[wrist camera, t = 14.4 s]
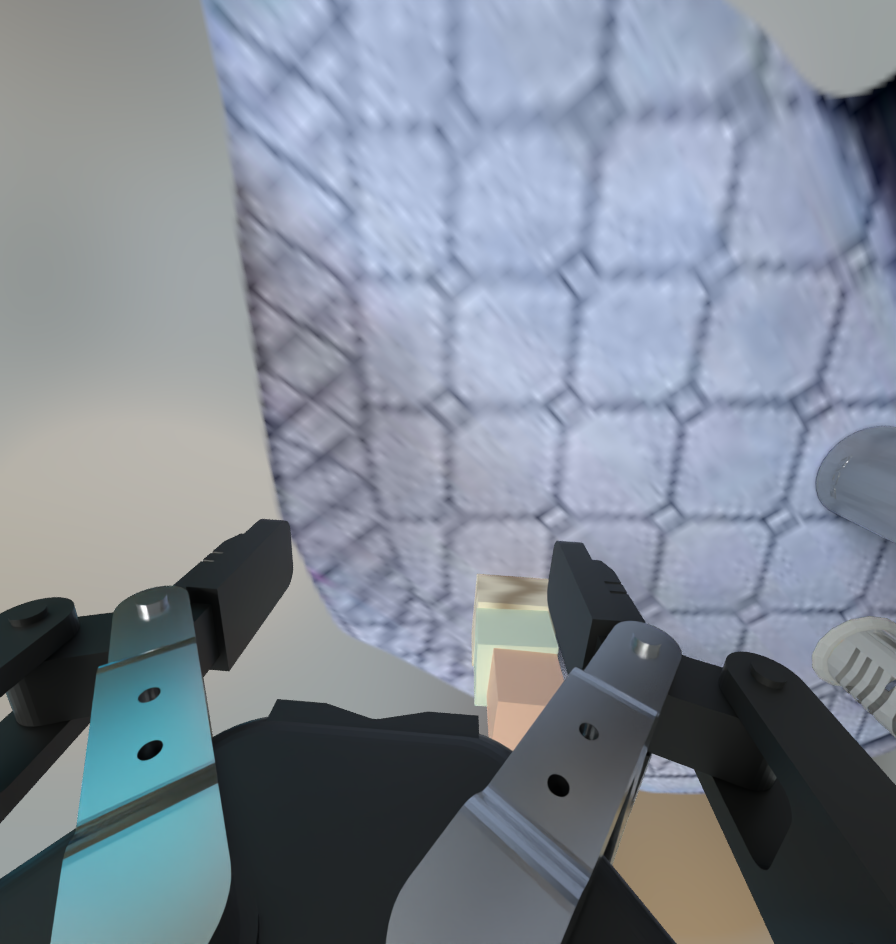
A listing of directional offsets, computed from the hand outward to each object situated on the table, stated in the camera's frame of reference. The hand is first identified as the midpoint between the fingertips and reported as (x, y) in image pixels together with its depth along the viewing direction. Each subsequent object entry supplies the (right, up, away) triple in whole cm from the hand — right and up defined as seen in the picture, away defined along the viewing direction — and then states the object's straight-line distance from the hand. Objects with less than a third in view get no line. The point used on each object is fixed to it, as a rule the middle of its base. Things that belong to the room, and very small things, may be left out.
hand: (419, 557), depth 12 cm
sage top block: (+7, -14, +29) cm, 33 cm away
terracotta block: (+7, -16, +24) cm, 30 cm away
